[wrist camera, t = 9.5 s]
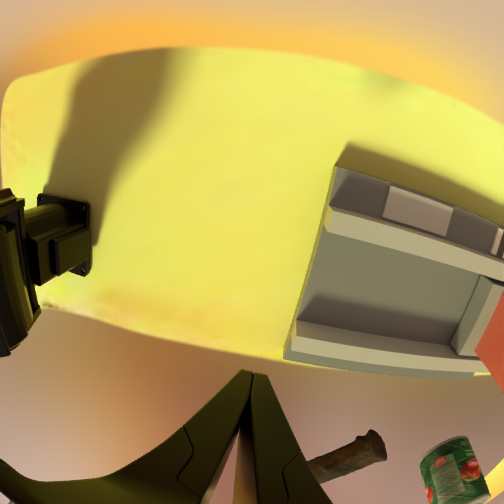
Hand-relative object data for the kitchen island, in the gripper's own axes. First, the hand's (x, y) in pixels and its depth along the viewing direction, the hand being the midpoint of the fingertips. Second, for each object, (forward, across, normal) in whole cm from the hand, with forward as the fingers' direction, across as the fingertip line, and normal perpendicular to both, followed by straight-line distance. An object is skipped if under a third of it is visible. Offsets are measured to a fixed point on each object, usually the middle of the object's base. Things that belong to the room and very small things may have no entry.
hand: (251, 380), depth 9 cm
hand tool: (+12, -10, +24) cm, 29 cm away
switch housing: (+12, -12, 0) cm, 17 cm away
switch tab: (+10, -18, 0) cm, 21 cm away
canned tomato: (+12, -30, +22) cm, 39 cm away
